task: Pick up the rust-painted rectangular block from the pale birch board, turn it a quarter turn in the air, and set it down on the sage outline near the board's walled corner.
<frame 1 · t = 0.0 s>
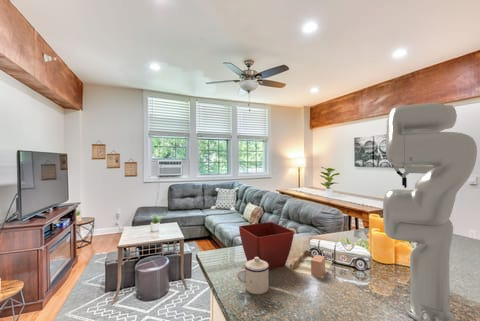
hand: (420, 188, 94), 37 cm above the countertop, tool pointing down, fingers open, 9 cm apart
birch board: (312, 266, 109), on the countertop
rust block: (318, 272, 102), point 1 cm above the countertop, touching birch board
teacup with lid: (253, 289, 91), on the countertop
plant pot: (265, 265, 111), on the countertop
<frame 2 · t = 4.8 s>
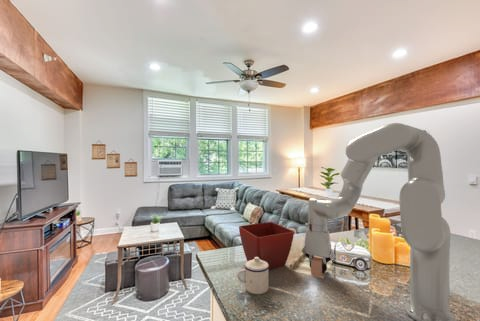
hand: (318, 270, 102), 2 cm above the countertop, tool pointing down, fingers closed on rust block, 4 cm apart
rust block: (318, 272, 102), point 1 cm above the countertop, touching birch board, gripper
everything else where it was.
when the fingers open (3 cm above the countertop, at t = 9.4 s): rust block drops 1 cm, resting on birch board.
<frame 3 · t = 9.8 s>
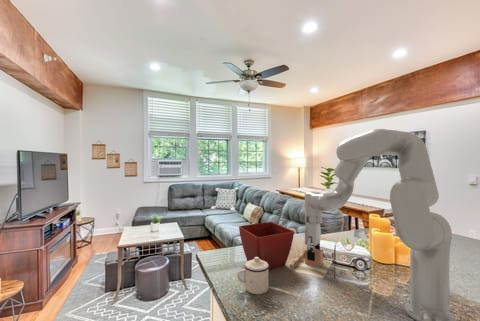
hand: (313, 256, 111), 4 cm above the countertop, tool pointing down, fingers open, 8 cm apart
rust block: (313, 263, 111), point 1 cm above the countertop, touching birch board
everything else where it was.
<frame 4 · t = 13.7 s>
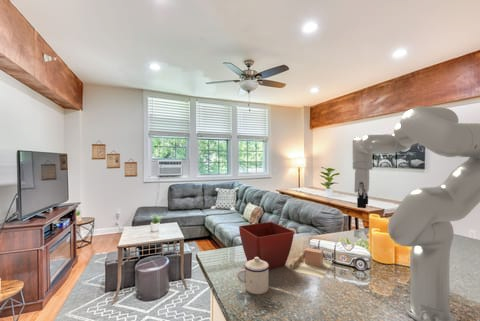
hand: (362, 205, 103), 28 cm above the countertop, tool pointing down, fingers open, 9 cm apart
nothing on the countertop moved.
at the end: rust block 0.0 cm from the target spot, point 0.9 cm above the countertop; rust block tilted 0°; the gripper is holding nothing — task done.
